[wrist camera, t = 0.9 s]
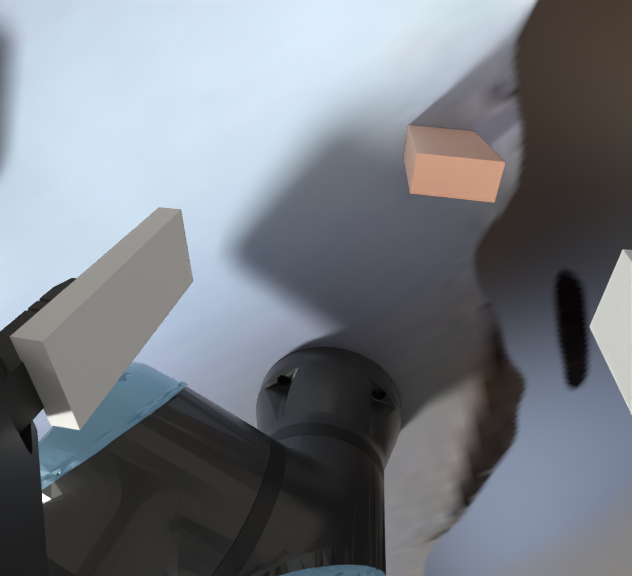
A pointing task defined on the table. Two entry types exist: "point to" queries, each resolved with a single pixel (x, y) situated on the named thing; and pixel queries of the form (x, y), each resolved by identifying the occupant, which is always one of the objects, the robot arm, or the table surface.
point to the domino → (451, 164)
